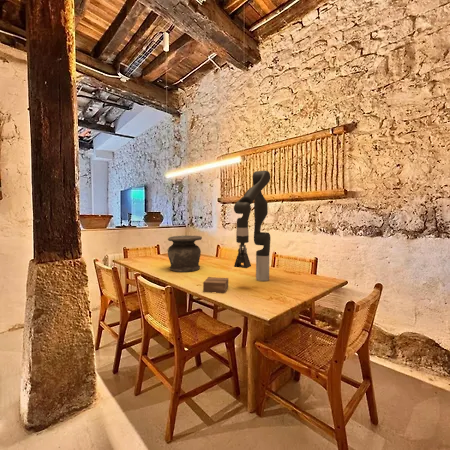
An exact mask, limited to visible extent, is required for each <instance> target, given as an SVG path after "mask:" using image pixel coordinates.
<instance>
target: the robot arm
mask: <svg viewBox="0 0 450 450" xmlns="http://www.w3.org/2000/svg"><path fill="white" fill-rule="evenodd" d="M270 181H271V174H270V171H268V170H256V171H254V172H253V174H252V186H251V187H249V189H247V190H246V191H245V193H244V195H243V196H242V197H241V198H240V199H239V200H237V201H236V202H235V203H234V206H233V211H234V213H235V214H236V215H237V214H238V215H242V216H241V217H238V218H237V219H236V230H235V231H236V232H235V234H236V236H235V237H236V238H235V239H236V243H237V244H239V245H238V249H239V248H240V253H244V254H241V255H240V256H241V264H243V263H244V257H245V249H246V248H247V247H246V244H247V243H249V241H250V240H249V233H250V232H249V219H250V215H251V211H252V207H251V205H252V204H253V203H254V204H253V206H254V207H253V214H254V216H253V217H254V227H253V229H254V230H253V231H254V232H253V243H254V245H255V246H263V247H262V248H261V249H258V250H257V251H256V252H255V257H256V258H255V280H256V281H259V282H269V281H270V254H271V253H270V252H271V234H270V232H268V231H267V232H266V231H265V232H263V231H261V228H262V225H263V223H264V221H265V220H266V218H267V215H268V213H269V212H268V208H269V206H268V201H267V200H266V198H265V196H264V195H263V192H262V191H263V190H264V188H265V187H266V186H268V184H269V183H270Z"/></svg>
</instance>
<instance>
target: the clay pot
mask: <svg viewBox="0 0 450 450" xmlns="http://www.w3.org/2000/svg"><path fill="white" fill-rule="evenodd" d="M167 240H168V241H169V242H172V244H171V246H169V247H168V248H167V257H168V260H169V263H170V267H169V270H170V271H174V272H178V273H187V272H195V271H198V270H199V269H200V268H201V266H200V265H199V263H200V259H201V252H202V251H201V248H200V247H199V245H197V244H195V242H196V241H201V240H202V236H201V235H174V236H169V237H168V238H167Z"/></svg>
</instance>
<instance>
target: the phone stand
mask: <svg viewBox="0 0 450 450" xmlns="http://www.w3.org/2000/svg"><path fill="white" fill-rule="evenodd" d="M247 249H248V248H247V247H246V249H245V257H244V263H241V256H240V255H241V254H244V253H240V248H239V247H238V250H237V252H238V253H237V256H236V259H235V262H234V265H233V267H234V268H241V269H248V268H250V267H252V263H251V261H250V258H249V255H248V252H247Z"/></svg>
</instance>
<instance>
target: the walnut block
mask: <svg viewBox="0 0 450 450" xmlns="http://www.w3.org/2000/svg"><path fill="white" fill-rule="evenodd" d="M202 285H203V287H202V288H203V290H202V292H203V293H212V292H216V293H215V294H226V292H227V290H228V289H229V277H216V276H215V277H210V276H209V277H207V278H206V279H205V280H204V281H203V283H202Z"/></svg>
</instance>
